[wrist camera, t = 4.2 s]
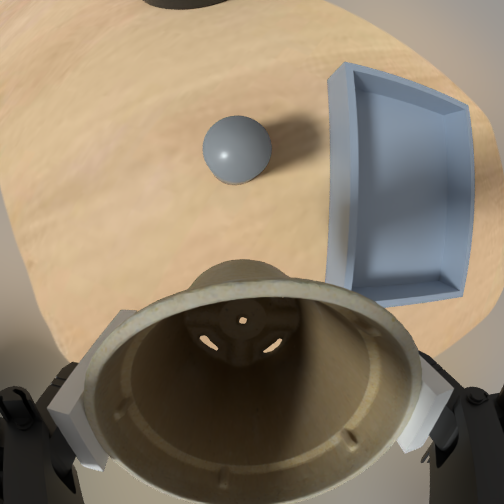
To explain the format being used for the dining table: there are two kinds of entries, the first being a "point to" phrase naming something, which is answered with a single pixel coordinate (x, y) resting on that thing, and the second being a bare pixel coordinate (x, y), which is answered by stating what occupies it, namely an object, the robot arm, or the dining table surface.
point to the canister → (237, 149)
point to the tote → (398, 188)
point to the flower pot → (252, 388)
